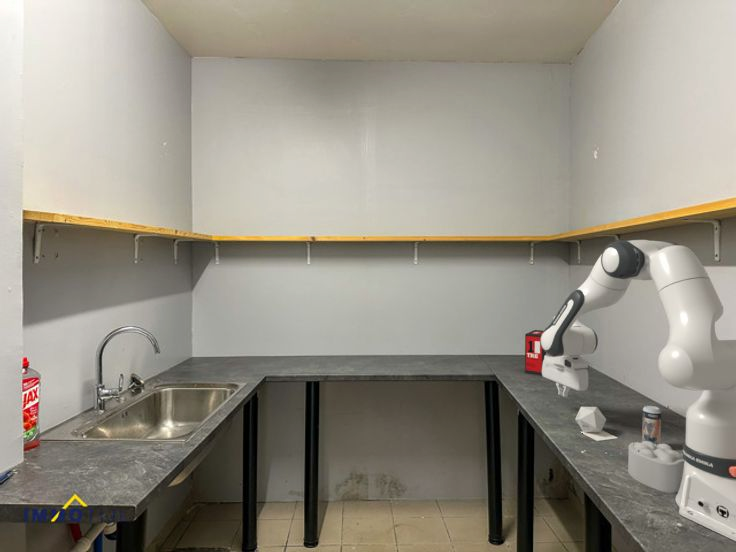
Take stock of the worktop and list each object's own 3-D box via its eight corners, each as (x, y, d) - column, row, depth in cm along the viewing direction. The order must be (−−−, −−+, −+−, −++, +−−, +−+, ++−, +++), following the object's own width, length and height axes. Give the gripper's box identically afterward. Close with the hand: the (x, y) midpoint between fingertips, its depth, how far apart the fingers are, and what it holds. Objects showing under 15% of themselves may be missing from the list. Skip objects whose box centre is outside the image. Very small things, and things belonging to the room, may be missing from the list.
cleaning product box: (534, 366, 236) (535, 329, 235) (552, 369, 230) (552, 331, 230) (524, 373, 222) (525, 334, 222) (543, 375, 217) (543, 335, 216)
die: (569, 404, 151) (579, 420, 141) (595, 398, 149) (606, 413, 140) (575, 425, 152) (585, 441, 143) (601, 418, 150) (613, 435, 141)
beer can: (640, 446, 135) (640, 407, 134) (644, 441, 138) (644, 404, 138) (658, 450, 131) (659, 411, 131) (662, 446, 135) (663, 407, 134)
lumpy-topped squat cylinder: (668, 495, 107) (669, 460, 106) (618, 472, 118) (618, 440, 118) (693, 485, 111) (694, 452, 111) (642, 464, 123) (642, 434, 123)
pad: (617, 438, 141) (618, 437, 141) (597, 441, 138) (597, 440, 138) (599, 429, 148) (599, 429, 148) (580, 432, 146) (580, 431, 146)
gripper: (537, 352, 168) (537, 388, 168) (576, 365, 148) (576, 405, 148) (551, 351, 169) (551, 387, 170) (592, 364, 150) (591, 403, 150)
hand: (563, 395), depth 159 cm, fingers closed
